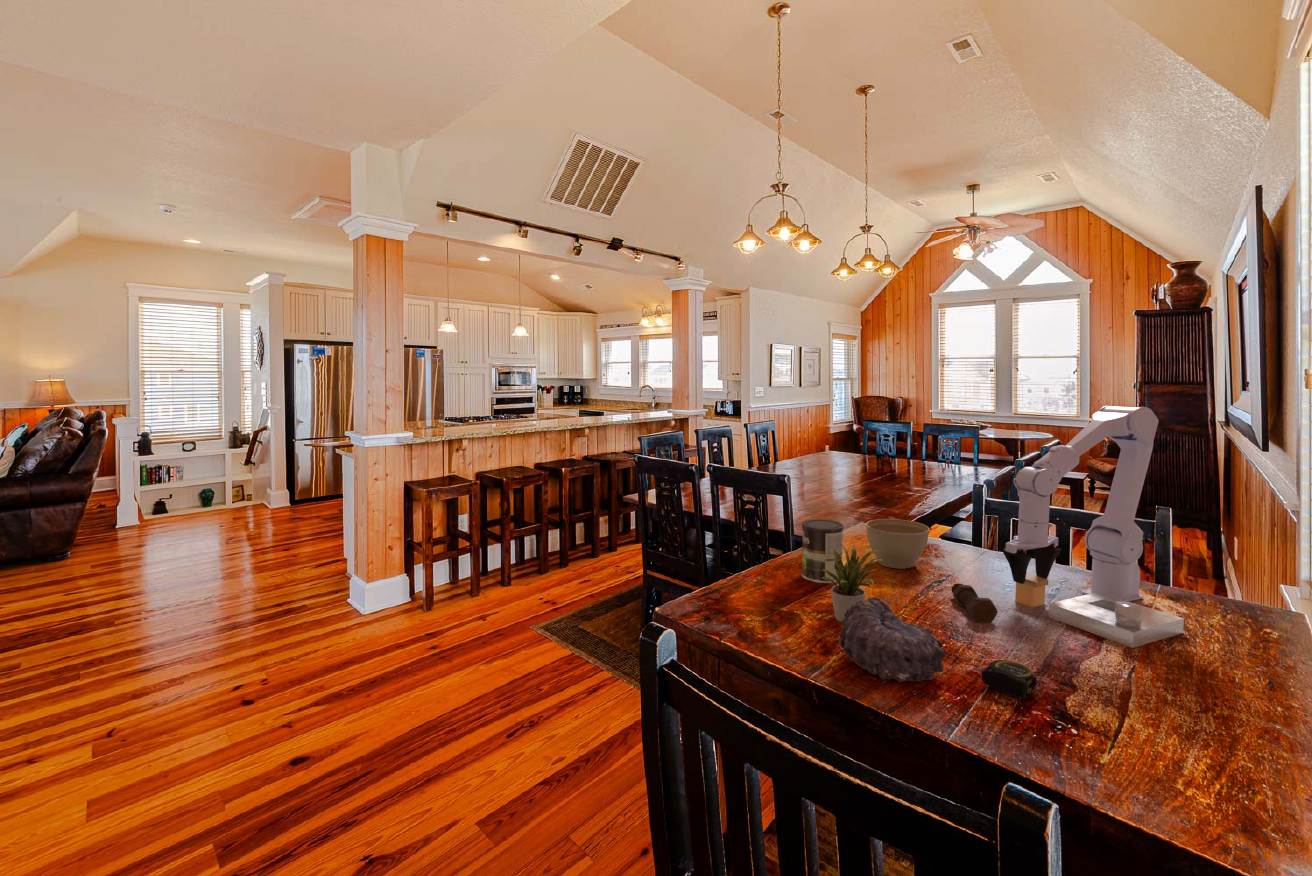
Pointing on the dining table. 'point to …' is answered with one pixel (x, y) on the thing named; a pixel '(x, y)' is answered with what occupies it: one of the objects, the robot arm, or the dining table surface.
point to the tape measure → (1009, 678)
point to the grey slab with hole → (1116, 619)
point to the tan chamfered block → (1031, 591)
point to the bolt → (974, 603)
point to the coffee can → (820, 548)
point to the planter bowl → (897, 541)
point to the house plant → (848, 581)
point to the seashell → (889, 643)
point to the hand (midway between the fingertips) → (1030, 580)
